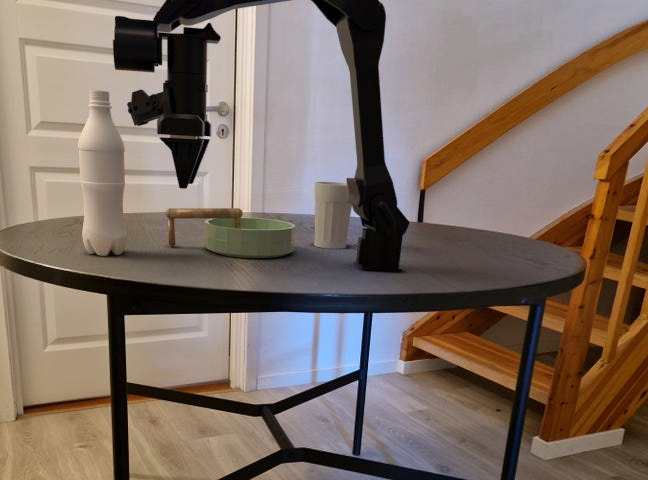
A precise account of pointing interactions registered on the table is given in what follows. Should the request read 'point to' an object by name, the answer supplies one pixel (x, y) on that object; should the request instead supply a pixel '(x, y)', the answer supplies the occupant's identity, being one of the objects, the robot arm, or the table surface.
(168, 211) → the wooden dowel frame
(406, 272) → the table surface
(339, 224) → the cup
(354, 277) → the table surface
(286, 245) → the bowl
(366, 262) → the robot arm
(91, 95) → the water bottle
